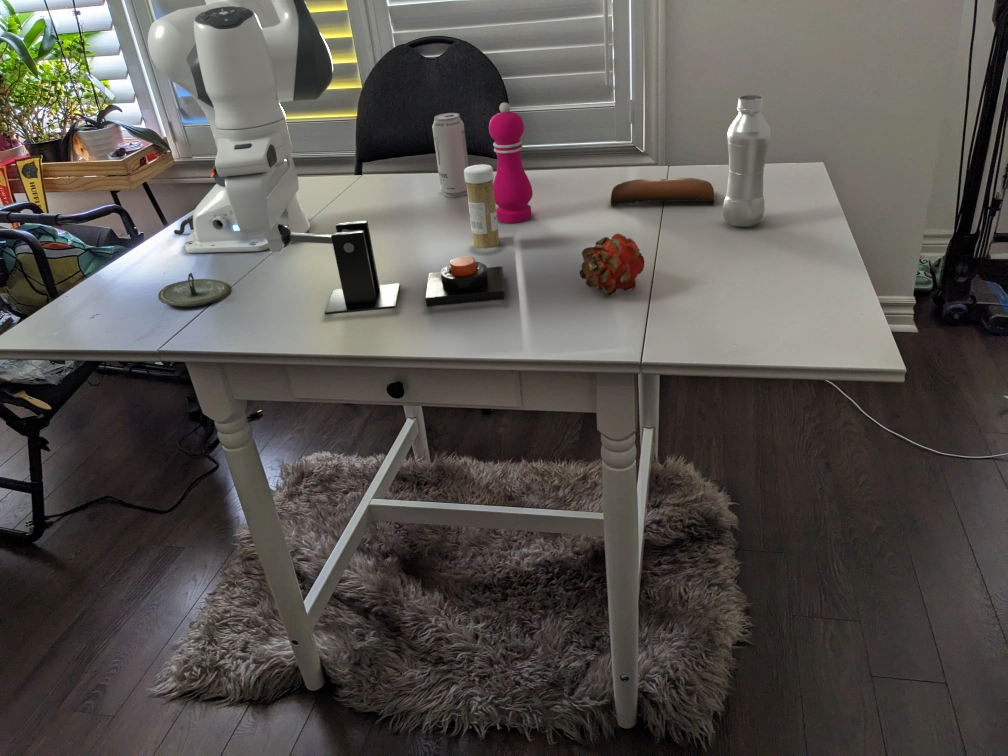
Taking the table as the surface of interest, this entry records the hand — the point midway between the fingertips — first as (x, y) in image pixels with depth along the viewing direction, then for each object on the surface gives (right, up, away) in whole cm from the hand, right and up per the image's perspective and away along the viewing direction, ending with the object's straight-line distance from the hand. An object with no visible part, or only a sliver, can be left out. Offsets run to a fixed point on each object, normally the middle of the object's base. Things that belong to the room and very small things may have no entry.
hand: (281, 243), depth 112 cm
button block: (+26, -7, +5) cm, 27 cm away
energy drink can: (+22, +18, +48) cm, 56 cm away
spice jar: (+28, +2, +20) cm, 35 cm away
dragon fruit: (+47, -6, +2) cm, 47 cm away
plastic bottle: (+70, +6, +19) cm, 73 cm away
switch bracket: (+11, -8, +5) cm, 14 cm away
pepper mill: (+33, +10, +32) cm, 47 cm away
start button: (+25, -4, +3) cm, 26 cm away
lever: (+5, -1, +1) cm, 5 cm away
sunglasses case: (+60, +13, +33) cm, 69 cm away
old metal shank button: (-16, -7, +12) cm, 21 cm away
